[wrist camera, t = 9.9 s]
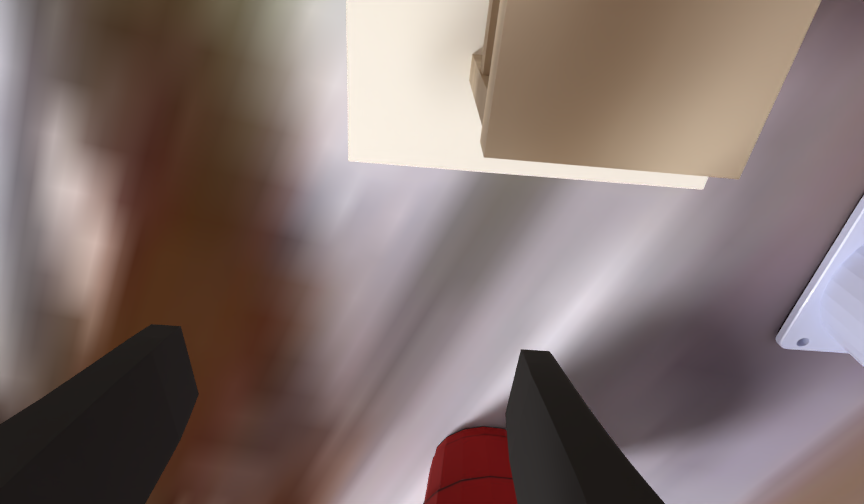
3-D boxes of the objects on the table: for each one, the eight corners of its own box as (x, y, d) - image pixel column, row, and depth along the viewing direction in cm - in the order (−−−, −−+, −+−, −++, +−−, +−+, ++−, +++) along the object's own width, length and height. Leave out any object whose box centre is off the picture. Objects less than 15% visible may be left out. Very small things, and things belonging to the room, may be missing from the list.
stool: (678, -98, 13) (893, -158, 7) (621, 97, 15) (739, 179, 9) (489, -118, 12) (537, -199, 6) (465, 83, 15) (483, 157, 9)
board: (851, -215, 12) (876, -226, 11) (692, 181, 18) (702, 189, 17) (347, -270, 12) (341, -285, 11) (351, 153, 17) (348, 161, 17)
